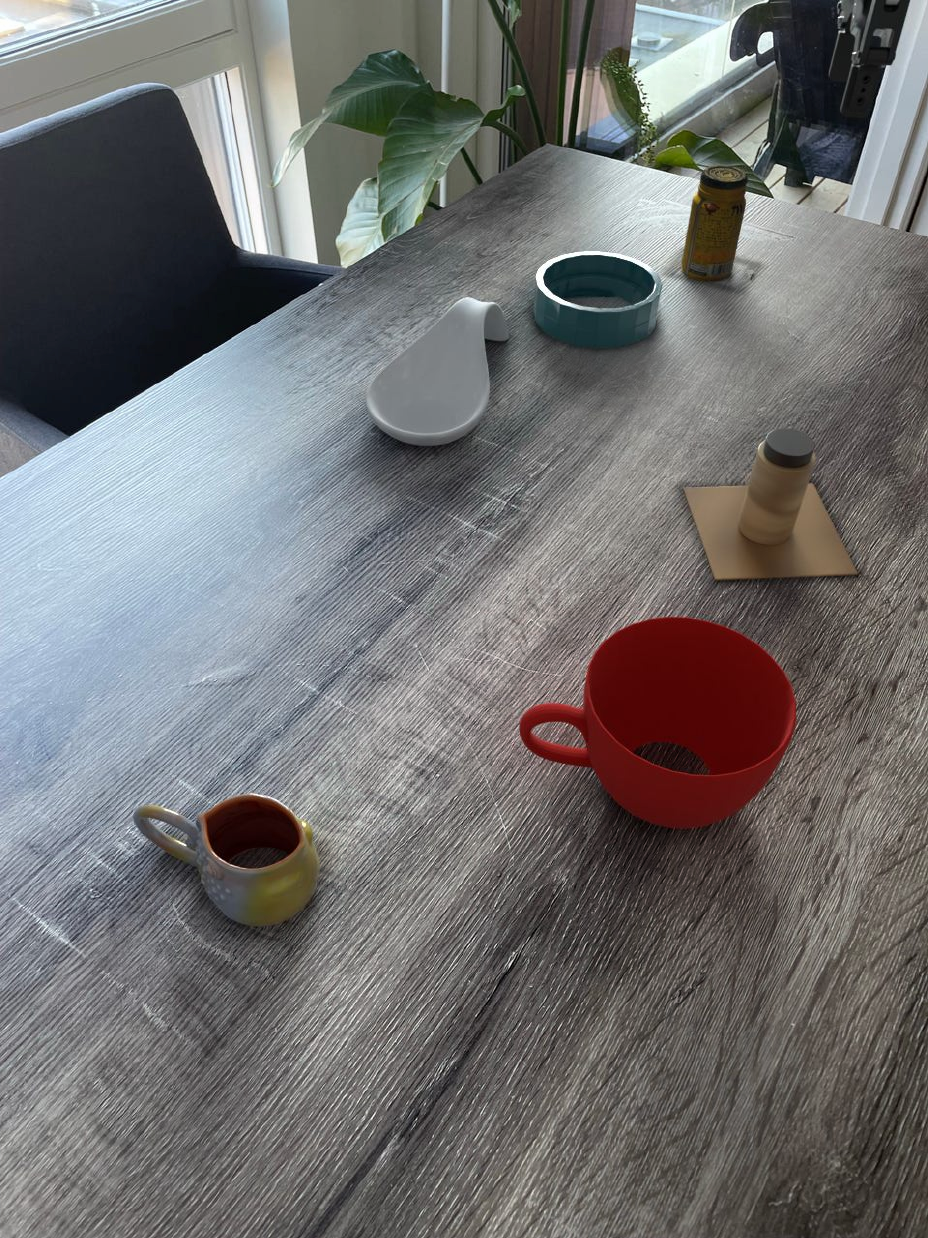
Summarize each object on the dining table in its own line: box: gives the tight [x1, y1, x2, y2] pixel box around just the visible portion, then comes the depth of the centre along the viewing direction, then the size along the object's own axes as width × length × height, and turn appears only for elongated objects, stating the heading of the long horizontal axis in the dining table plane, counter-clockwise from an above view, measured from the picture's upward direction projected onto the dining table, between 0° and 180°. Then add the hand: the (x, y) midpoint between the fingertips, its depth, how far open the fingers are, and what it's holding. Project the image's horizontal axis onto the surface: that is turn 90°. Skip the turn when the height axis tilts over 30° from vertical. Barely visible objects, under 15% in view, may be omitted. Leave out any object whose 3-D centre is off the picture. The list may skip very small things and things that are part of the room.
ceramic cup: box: [518, 616, 797, 830], centre depth 65 cm, size 13×17×10 cm
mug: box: [132, 792, 321, 928], centre depth 61 cm, size 12×7×7 cm, turn 69°
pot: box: [532, 251, 663, 349], centre depth 110 cm, size 14×14×5 cm
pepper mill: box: [738, 427, 817, 545], centre depth 83 cm, size 5×5×9 cm
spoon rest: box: [364, 296, 509, 447], centre depth 99 cm, size 24×12×7 cm, turn 160°
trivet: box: [682, 483, 859, 581], centre depth 86 cm, size 12×12×1 cm
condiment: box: [681, 164, 756, 283], centre depth 115 cm, size 7×8×12 cm
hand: (846, 97), depth 83 cm, fingers open, 8 cm apart
